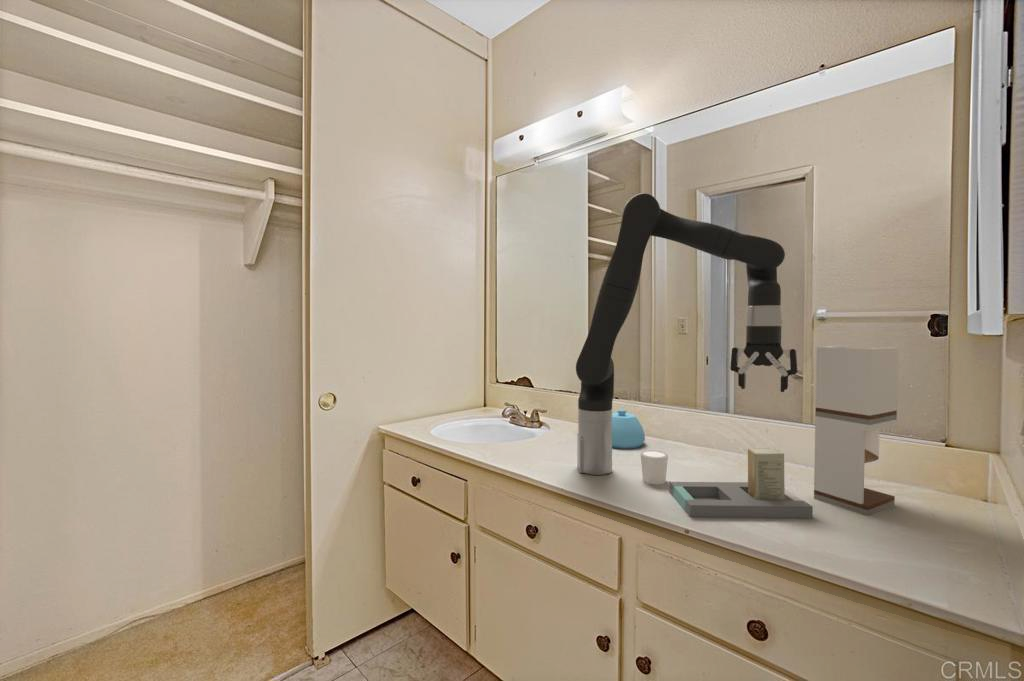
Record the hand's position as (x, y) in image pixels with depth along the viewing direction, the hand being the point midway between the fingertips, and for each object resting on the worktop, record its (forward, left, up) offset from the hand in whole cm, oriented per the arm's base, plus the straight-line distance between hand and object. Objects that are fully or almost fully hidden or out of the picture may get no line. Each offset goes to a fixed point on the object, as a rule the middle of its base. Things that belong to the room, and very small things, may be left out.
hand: (762, 390), depth 111 cm
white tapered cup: (-25, +3, -24) cm, 35 cm away
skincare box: (-5, -12, -24) cm, 27 cm away
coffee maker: (+16, -10, -24) cm, 30 cm away
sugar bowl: (-26, +39, -24) cm, 53 cm away
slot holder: (-11, -12, -24) cm, 29 cm away
